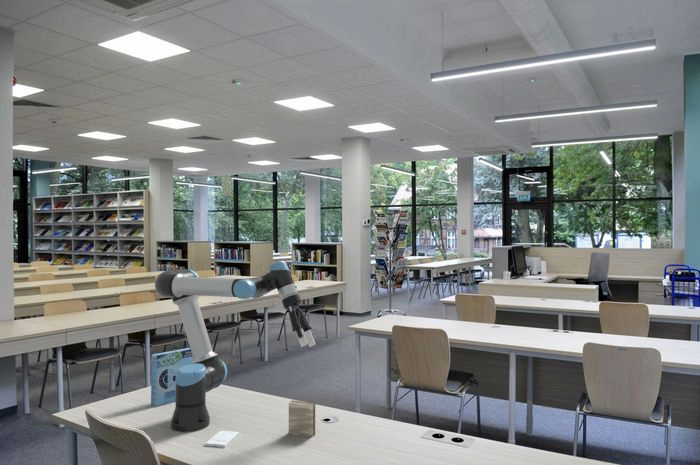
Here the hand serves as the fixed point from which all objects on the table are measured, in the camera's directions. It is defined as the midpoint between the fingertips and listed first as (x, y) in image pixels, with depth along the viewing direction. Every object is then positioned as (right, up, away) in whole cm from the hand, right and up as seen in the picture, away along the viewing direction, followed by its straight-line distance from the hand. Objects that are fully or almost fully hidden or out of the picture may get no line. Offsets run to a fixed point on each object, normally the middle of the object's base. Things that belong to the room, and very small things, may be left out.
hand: (308, 345), depth 198 cm
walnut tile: (-2, -33, -6) cm, 34 cm away
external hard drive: (-32, -33, -12) cm, 48 cm away
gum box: (-67, -34, +34) cm, 83 cm away
